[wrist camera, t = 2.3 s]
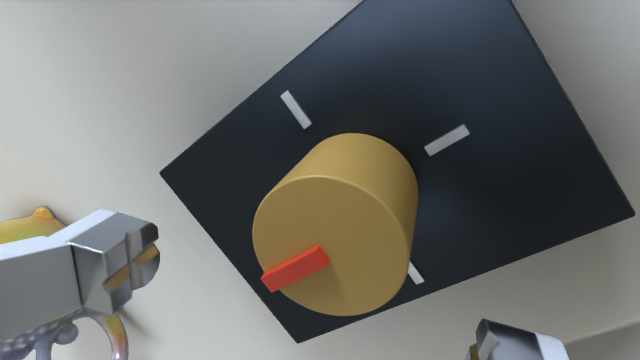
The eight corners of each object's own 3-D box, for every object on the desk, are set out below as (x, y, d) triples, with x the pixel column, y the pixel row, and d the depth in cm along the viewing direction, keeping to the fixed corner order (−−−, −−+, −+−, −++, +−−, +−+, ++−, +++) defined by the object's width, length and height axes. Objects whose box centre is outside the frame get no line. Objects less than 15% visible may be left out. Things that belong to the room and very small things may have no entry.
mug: (4, 240, 26) (-121, 304, 21) (39, 186, 23) (-97, 244, 17) (128, 360, 28) (42, 453, 22) (177, 325, 24) (93, 422, 19)
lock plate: (458, -64, 13) (462, -86, 10) (601, 178, 14) (640, 218, 11) (197, 151, 19) (155, 174, 16) (316, 302, 20) (295, 347, 18)
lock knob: (371, 107, 12) (340, 147, 9) (443, 212, 13) (443, 292, 9) (276, 172, 14) (217, 227, 11) (343, 260, 15) (309, 342, 11)
